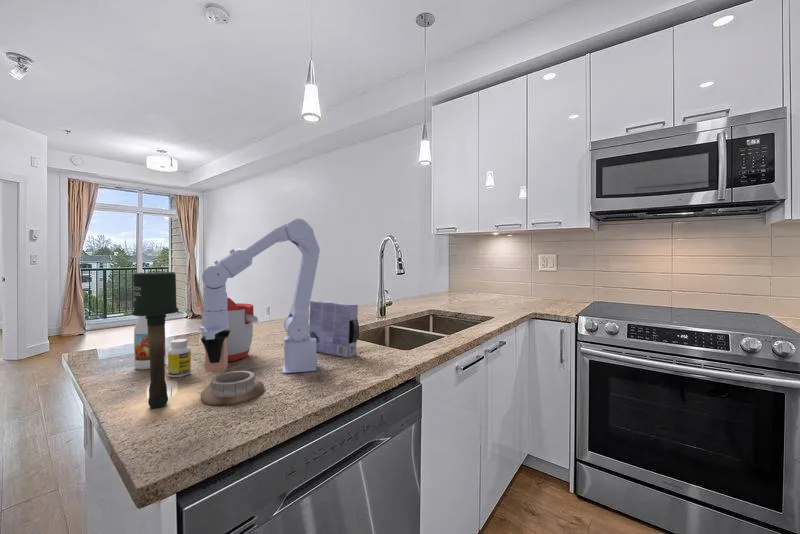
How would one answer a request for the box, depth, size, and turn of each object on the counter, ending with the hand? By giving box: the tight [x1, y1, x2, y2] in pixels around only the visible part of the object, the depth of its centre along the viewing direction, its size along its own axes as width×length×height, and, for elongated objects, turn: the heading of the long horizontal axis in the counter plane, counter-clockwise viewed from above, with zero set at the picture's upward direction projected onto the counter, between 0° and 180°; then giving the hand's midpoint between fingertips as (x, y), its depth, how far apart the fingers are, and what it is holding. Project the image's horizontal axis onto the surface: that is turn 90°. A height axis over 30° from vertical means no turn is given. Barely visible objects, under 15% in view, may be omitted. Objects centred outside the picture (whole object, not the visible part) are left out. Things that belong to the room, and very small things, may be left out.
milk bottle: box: [133, 316, 167, 371], centre depth 107 cm, size 8×8×20 cm
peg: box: [204, 337, 229, 373], centre depth 96 cm, size 4×4×8 cm
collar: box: [200, 370, 265, 406], centre depth 87 cm, size 14×14×4 cm
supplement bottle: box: [167, 338, 192, 378], centre depth 100 cm, size 5×5×10 cm
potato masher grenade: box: [131, 271, 180, 409], centre depth 79 cm, size 8×9×30 cm
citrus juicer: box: [200, 296, 259, 362], centre depth 116 cm, size 16×17×20 cm
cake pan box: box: [308, 299, 360, 359], centre depth 122 cm, size 19×5×18 cm, turn 60°
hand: (216, 359), depth 96 cm, fingers closed on peg, 4 cm apart
